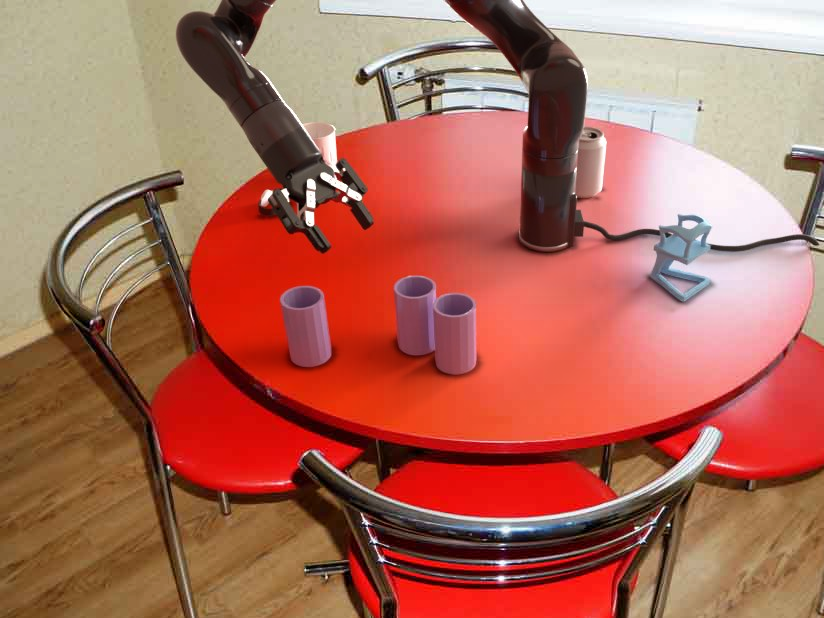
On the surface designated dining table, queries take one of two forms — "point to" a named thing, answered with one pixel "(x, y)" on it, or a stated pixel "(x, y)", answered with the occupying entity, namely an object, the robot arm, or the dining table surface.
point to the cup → (455, 333)
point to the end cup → (306, 325)
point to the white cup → (323, 140)
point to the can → (590, 162)
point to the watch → (266, 203)
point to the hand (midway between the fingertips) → (349, 238)
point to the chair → (681, 253)
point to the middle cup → (415, 314)
